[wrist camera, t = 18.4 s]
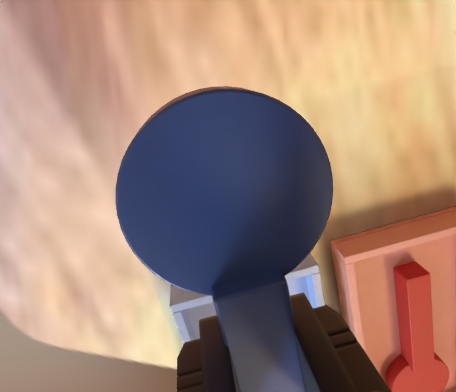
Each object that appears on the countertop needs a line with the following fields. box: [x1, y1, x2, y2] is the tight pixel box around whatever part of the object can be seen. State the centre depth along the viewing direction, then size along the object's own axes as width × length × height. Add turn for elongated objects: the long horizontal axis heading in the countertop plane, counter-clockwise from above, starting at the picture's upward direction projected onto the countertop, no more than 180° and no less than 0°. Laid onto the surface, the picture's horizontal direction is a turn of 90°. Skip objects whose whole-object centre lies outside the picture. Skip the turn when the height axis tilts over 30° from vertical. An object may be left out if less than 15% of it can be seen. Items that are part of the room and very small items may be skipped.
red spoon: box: [385, 261, 449, 392], centre depth 29 cm, size 14×5×2 cm, turn 14°
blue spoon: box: [116, 86, 333, 392], centre depth 10 cm, size 14×5×2 cm, turn 12°
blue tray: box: [170, 253, 325, 344], centre depth 28 cm, size 19×10×2 cm, turn 13°
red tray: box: [330, 206, 456, 392], centre depth 29 cm, size 19×10×2 cm, turn 13°
